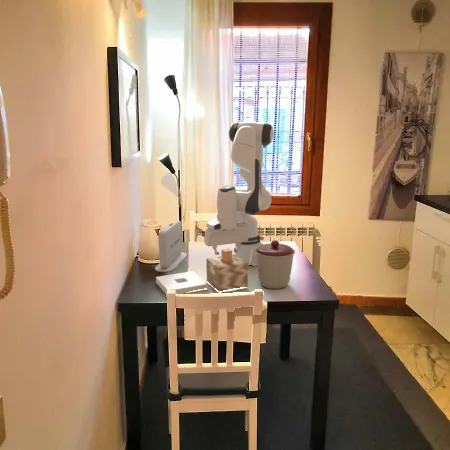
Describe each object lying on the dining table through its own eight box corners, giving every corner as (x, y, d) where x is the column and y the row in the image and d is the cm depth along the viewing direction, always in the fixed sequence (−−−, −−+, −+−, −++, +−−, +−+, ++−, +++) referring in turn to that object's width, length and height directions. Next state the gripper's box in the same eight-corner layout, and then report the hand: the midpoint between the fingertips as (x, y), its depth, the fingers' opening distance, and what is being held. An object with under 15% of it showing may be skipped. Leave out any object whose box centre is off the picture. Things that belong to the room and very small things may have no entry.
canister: (255, 277, 220) (255, 234, 215) (293, 278, 218) (294, 235, 213) (253, 291, 203) (253, 245, 198) (294, 293, 201) (296, 247, 196)
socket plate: (192, 277, 220) (192, 271, 220) (207, 290, 204) (207, 283, 204) (156, 283, 213) (156, 276, 212) (168, 297, 197) (168, 290, 196)
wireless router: (171, 272, 227) (170, 233, 222) (152, 271, 229) (150, 232, 224) (188, 253, 256) (188, 218, 251) (171, 252, 258) (170, 217, 253)
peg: (228, 269, 210) (228, 248, 208) (232, 271, 207) (232, 250, 204) (221, 270, 209) (221, 249, 206) (224, 273, 205) (224, 251, 203)
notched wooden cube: (234, 278, 218) (234, 254, 215) (247, 288, 206) (247, 263, 203) (206, 283, 213) (206, 258, 210) (219, 293, 200) (218, 267, 197)
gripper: (244, 219, 209) (244, 248, 212) (202, 223, 201) (202, 254, 204) (251, 222, 204) (250, 252, 207) (208, 226, 195) (208, 258, 198)
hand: (226, 253), depth 205 cm, fingers open, 8 cm apart
